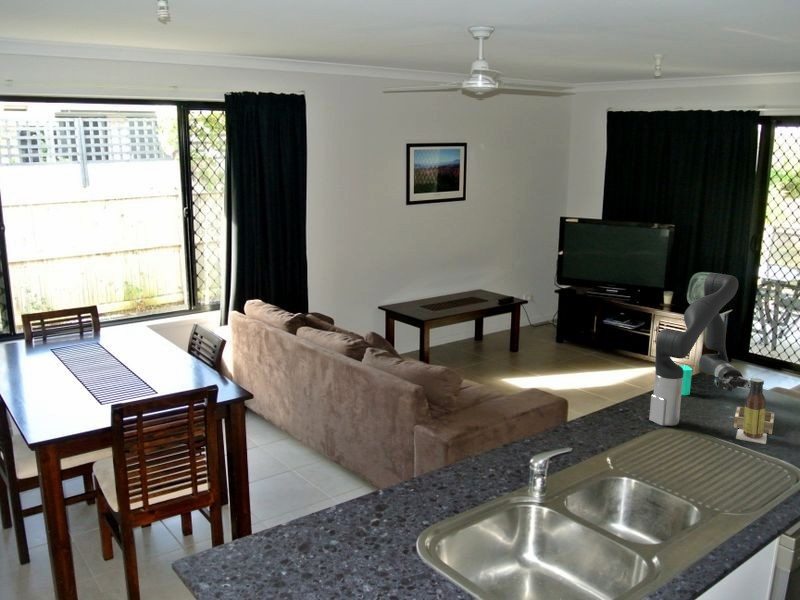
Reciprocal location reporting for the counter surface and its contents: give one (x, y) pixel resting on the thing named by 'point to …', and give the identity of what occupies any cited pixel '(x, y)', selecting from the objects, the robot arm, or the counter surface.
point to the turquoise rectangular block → (686, 380)
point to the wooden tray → (767, 421)
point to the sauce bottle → (754, 410)
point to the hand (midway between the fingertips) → (744, 389)
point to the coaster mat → (743, 437)
